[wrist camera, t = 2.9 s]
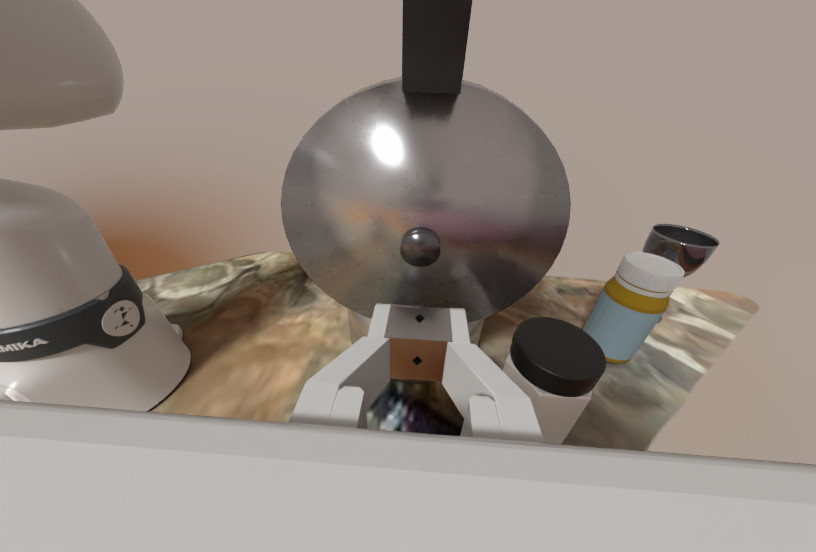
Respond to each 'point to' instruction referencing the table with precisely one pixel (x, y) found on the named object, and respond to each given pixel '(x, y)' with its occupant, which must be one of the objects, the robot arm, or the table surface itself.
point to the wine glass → (681, 246)
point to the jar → (555, 372)
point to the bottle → (632, 304)
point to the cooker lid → (426, 185)
